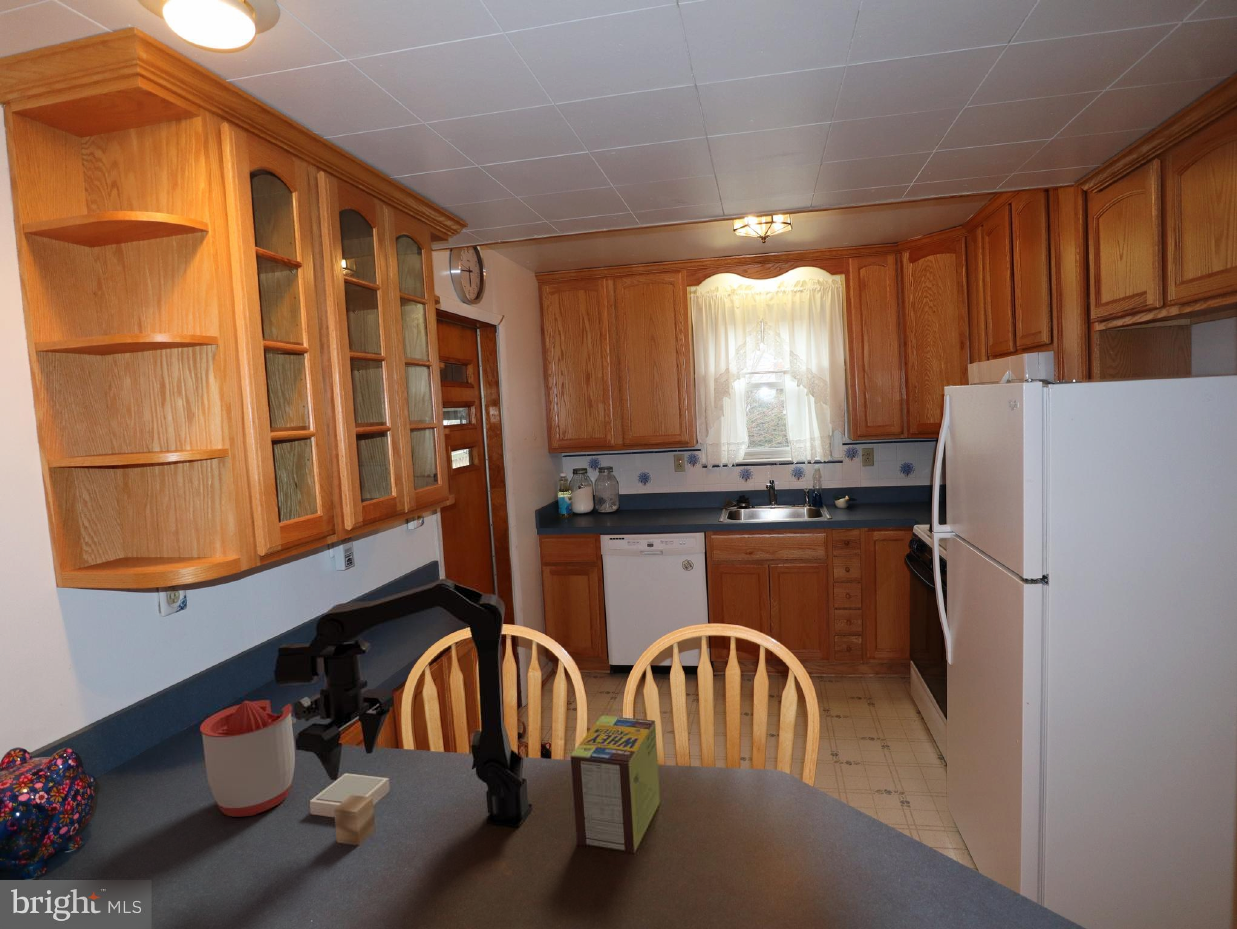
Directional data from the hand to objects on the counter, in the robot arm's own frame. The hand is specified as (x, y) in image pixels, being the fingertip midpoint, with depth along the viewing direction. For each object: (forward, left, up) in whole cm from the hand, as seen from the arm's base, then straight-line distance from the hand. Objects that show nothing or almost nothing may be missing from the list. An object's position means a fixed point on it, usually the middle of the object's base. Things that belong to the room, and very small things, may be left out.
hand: (352, 765), depth 123 cm
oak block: (0, +1, -12) cm, 12 cm away
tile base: (+8, -8, -12) cm, 16 cm away
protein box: (-44, -12, -12) cm, 48 cm away
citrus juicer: (+27, -5, -12) cm, 30 cm away
